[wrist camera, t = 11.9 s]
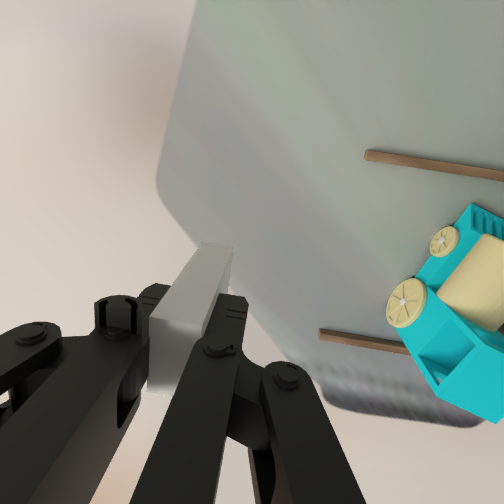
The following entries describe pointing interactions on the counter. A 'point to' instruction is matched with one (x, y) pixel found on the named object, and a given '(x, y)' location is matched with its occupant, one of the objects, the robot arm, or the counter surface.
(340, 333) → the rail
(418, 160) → the bar
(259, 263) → the counter surface
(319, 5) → the counter surface
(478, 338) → the toy train
